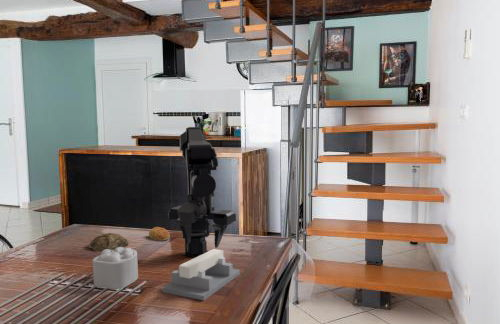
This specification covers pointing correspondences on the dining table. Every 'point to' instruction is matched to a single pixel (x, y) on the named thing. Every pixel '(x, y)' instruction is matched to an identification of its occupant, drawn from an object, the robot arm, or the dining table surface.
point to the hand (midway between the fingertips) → (202, 245)
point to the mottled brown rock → (108, 242)
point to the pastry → (159, 234)
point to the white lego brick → (115, 268)
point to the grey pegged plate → (202, 281)
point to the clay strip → (200, 263)
